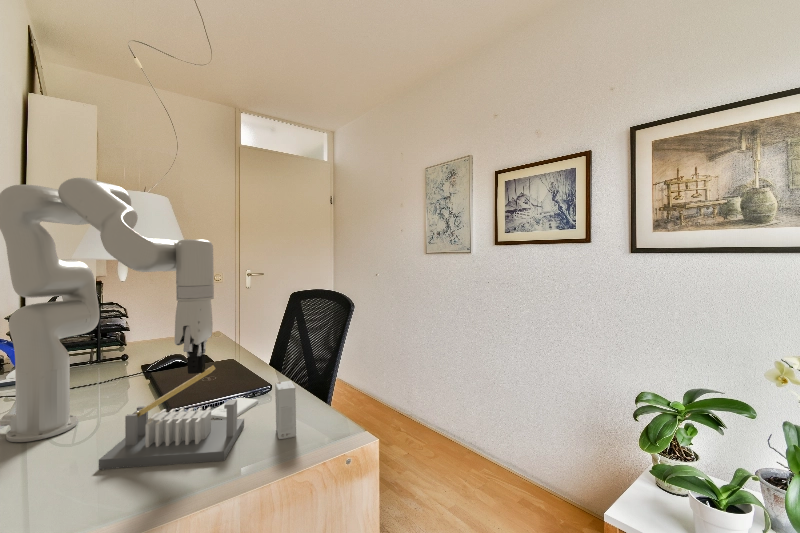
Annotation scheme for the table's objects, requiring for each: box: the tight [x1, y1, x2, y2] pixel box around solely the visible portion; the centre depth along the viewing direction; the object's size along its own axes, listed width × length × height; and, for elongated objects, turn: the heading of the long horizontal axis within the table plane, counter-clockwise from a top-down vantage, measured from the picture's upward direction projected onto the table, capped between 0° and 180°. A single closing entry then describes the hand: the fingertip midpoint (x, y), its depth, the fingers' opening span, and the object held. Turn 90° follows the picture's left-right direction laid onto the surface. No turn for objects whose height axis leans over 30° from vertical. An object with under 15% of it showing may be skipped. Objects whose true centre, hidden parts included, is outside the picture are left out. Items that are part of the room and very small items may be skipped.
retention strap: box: [132, 364, 216, 419], centre depth 83 cm, size 20×3×2 cm
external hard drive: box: [211, 397, 259, 420], centre depth 103 cm, size 2×8×12 cm
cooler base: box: [98, 399, 245, 470], centre depth 83 cm, size 24×16×10 cm, turn 99°
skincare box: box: [274, 380, 297, 440], centre depth 90 cm, size 6×4×12 cm
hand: (196, 372), depth 83 cm, fingers closed
